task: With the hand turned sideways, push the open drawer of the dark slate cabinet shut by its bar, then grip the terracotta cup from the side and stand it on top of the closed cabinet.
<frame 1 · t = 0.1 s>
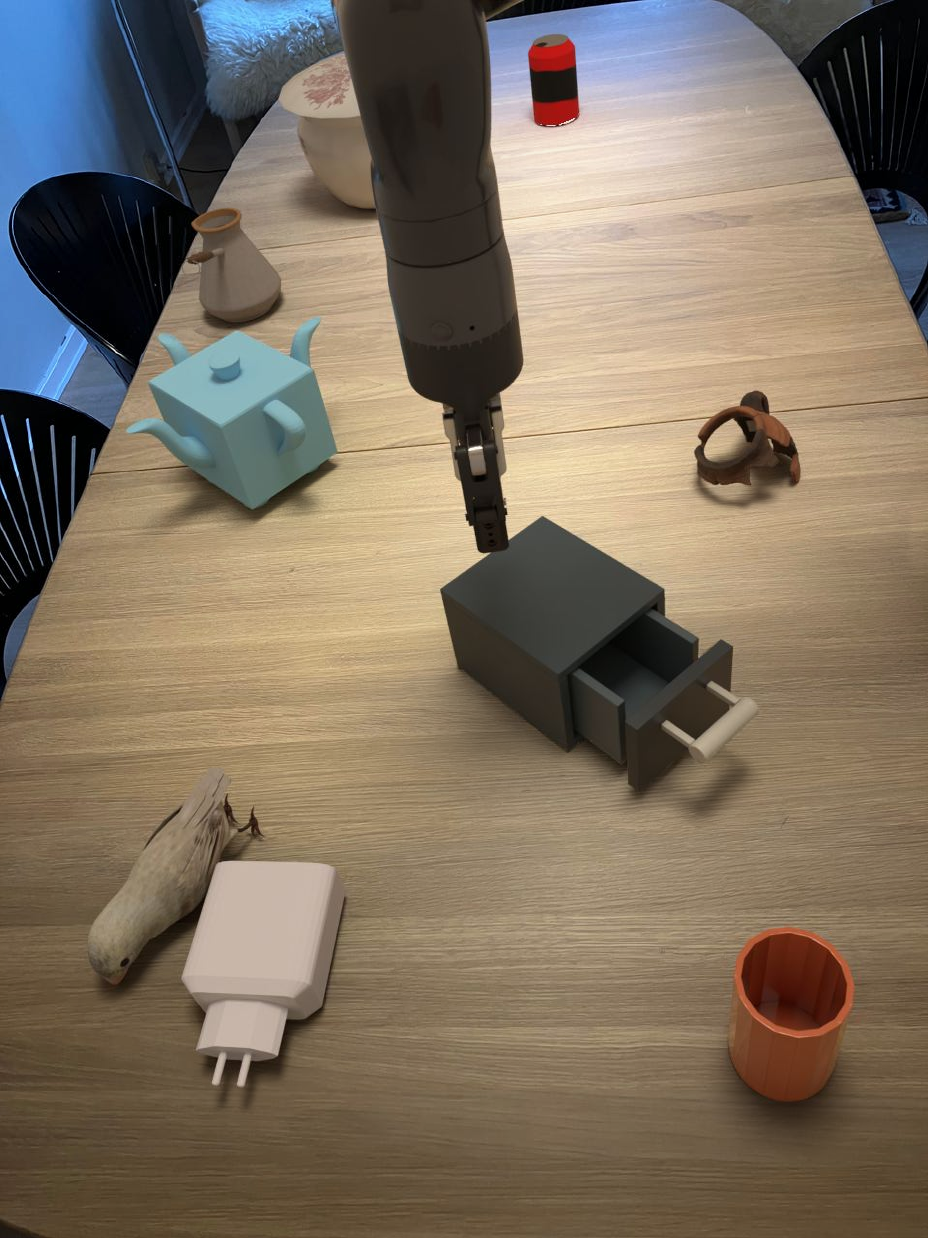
hand: (489, 509, 75), 20 cm above the table, tool pointing down, fingers open, 8 cm apart
decorative bird: (186, 900, 79), on the table
chamber pot: (393, 189, 163), on the table
charger: (267, 990, 73), on the table
teakettle: (258, 468, 117), on the table
drawer: (644, 692, 80), point 5 cm above the table, slide at 6.0 cm
soda can: (556, 119, 173), on the table
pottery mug: (748, 469, 104), on the table
coffee pot: (240, 327, 140), on the table
cabinet: (559, 668, 90), on the table
cup: (780, 1049, 65), on the table
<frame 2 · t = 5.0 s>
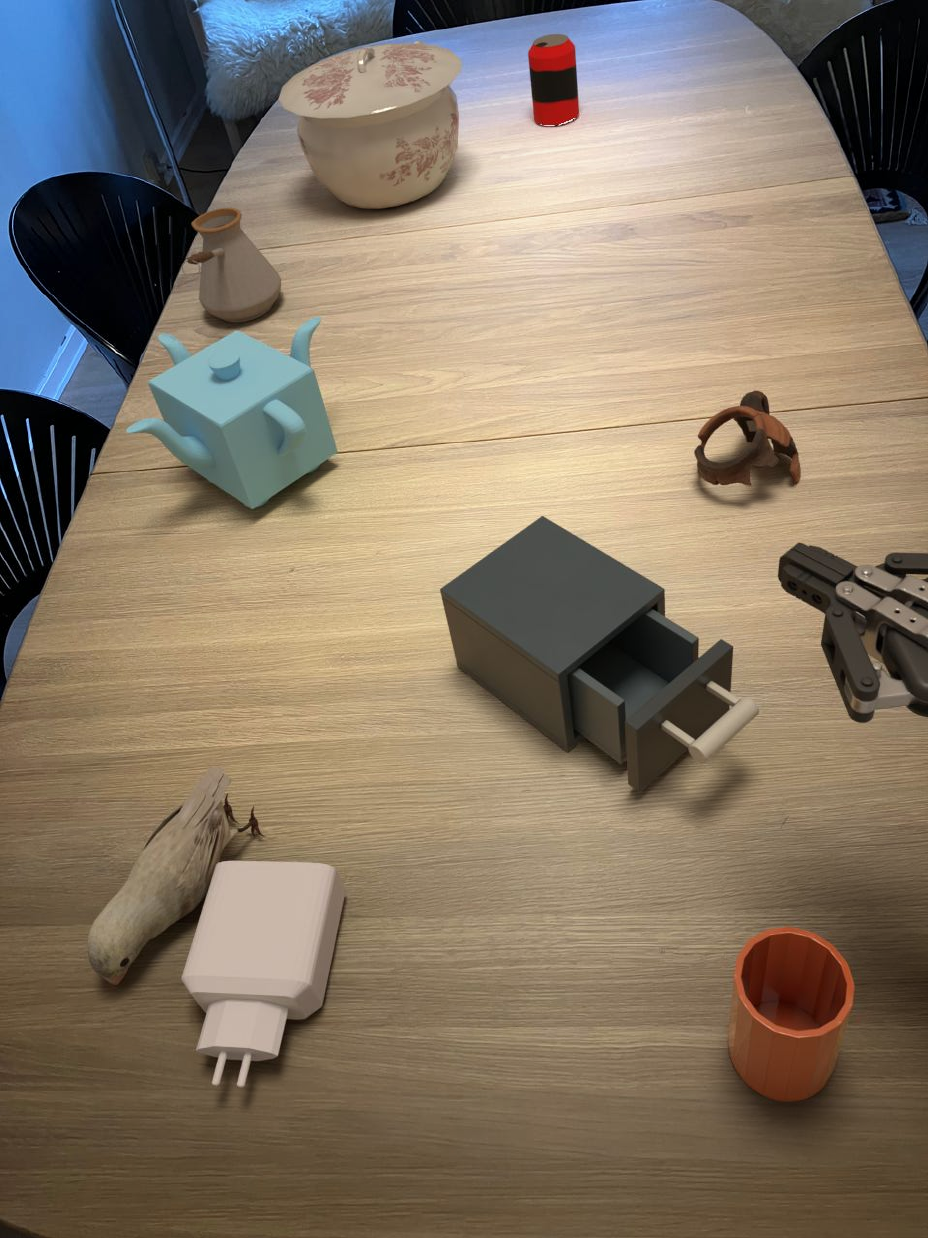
hand: (787, 560, 58), 26 cm above the table, tool horizontal, fingers closed
nothing on the table moved.
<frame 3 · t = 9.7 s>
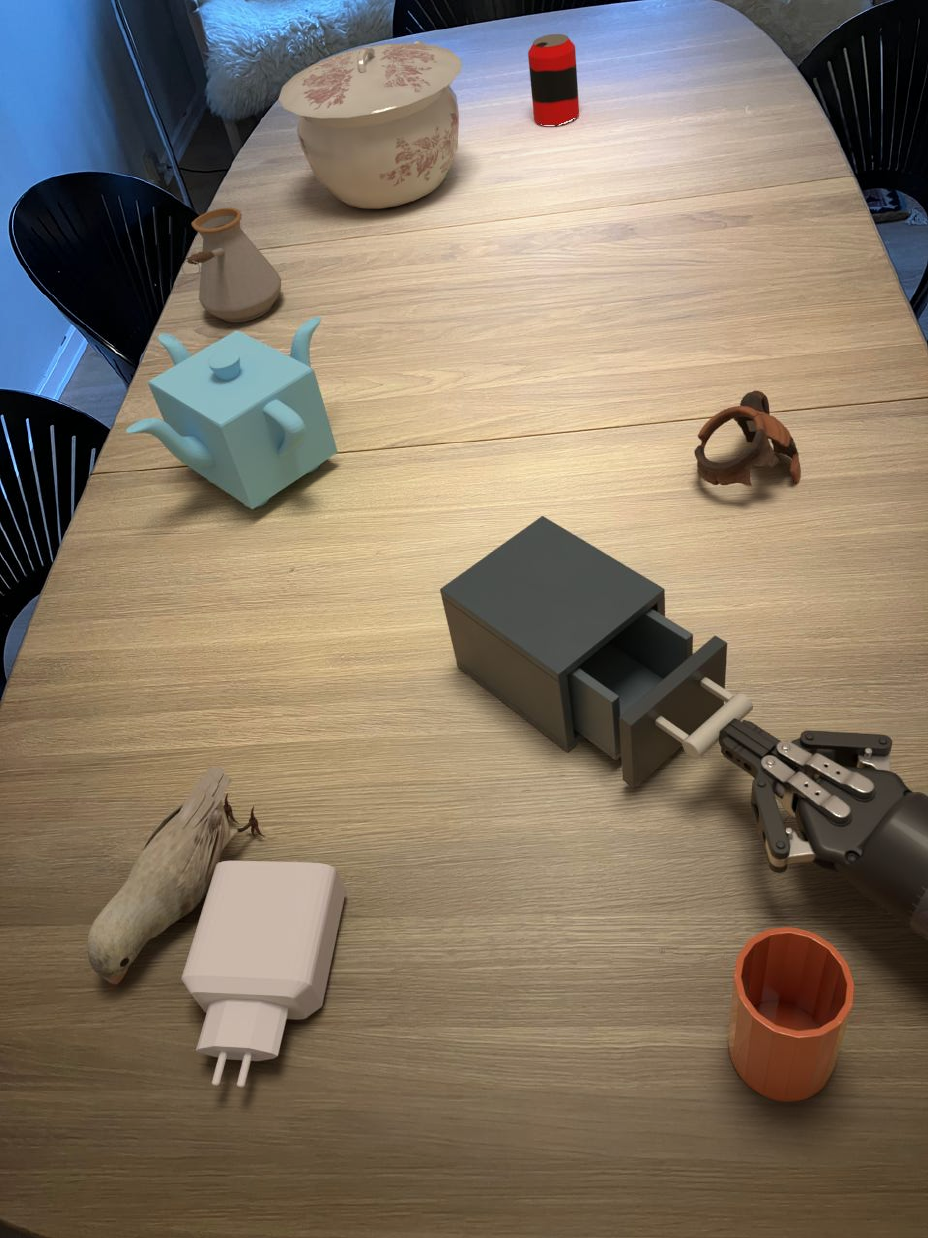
hand: (726, 731, 74), 7 cm above the table, tool horizontal, fingers closed
drawer: (639, 688, 81), point 5 cm above the table, slide at 5.4 cm, touching gripper
everything else where it was.
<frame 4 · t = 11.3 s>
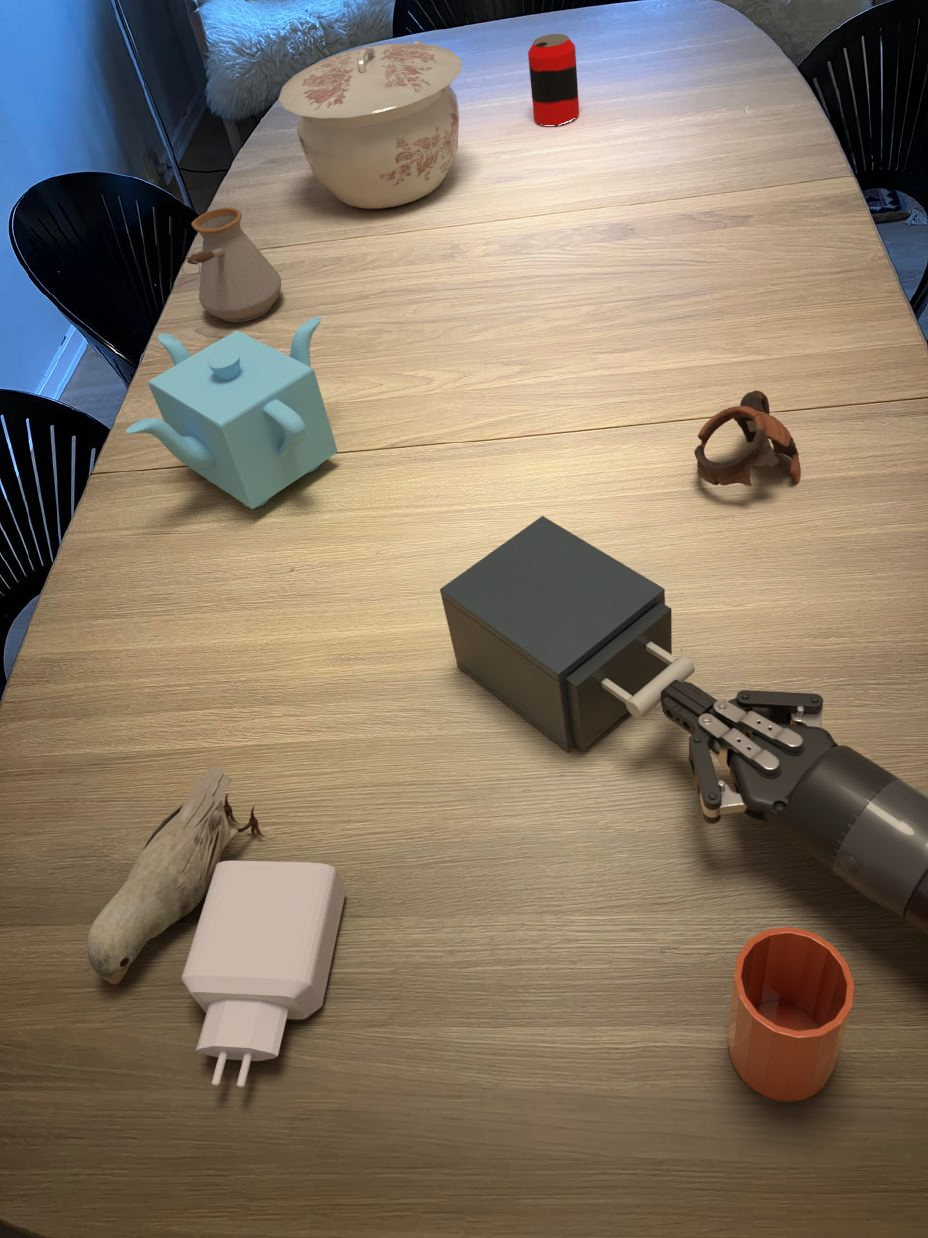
hand: (667, 692, 77), 7 cm above the table, tool horizontal, fingers closed
drawer: (588, 653, 84), point 5 cm above the table, slide at 0.0 cm, touching cabinet, gripper
everything else where it was.
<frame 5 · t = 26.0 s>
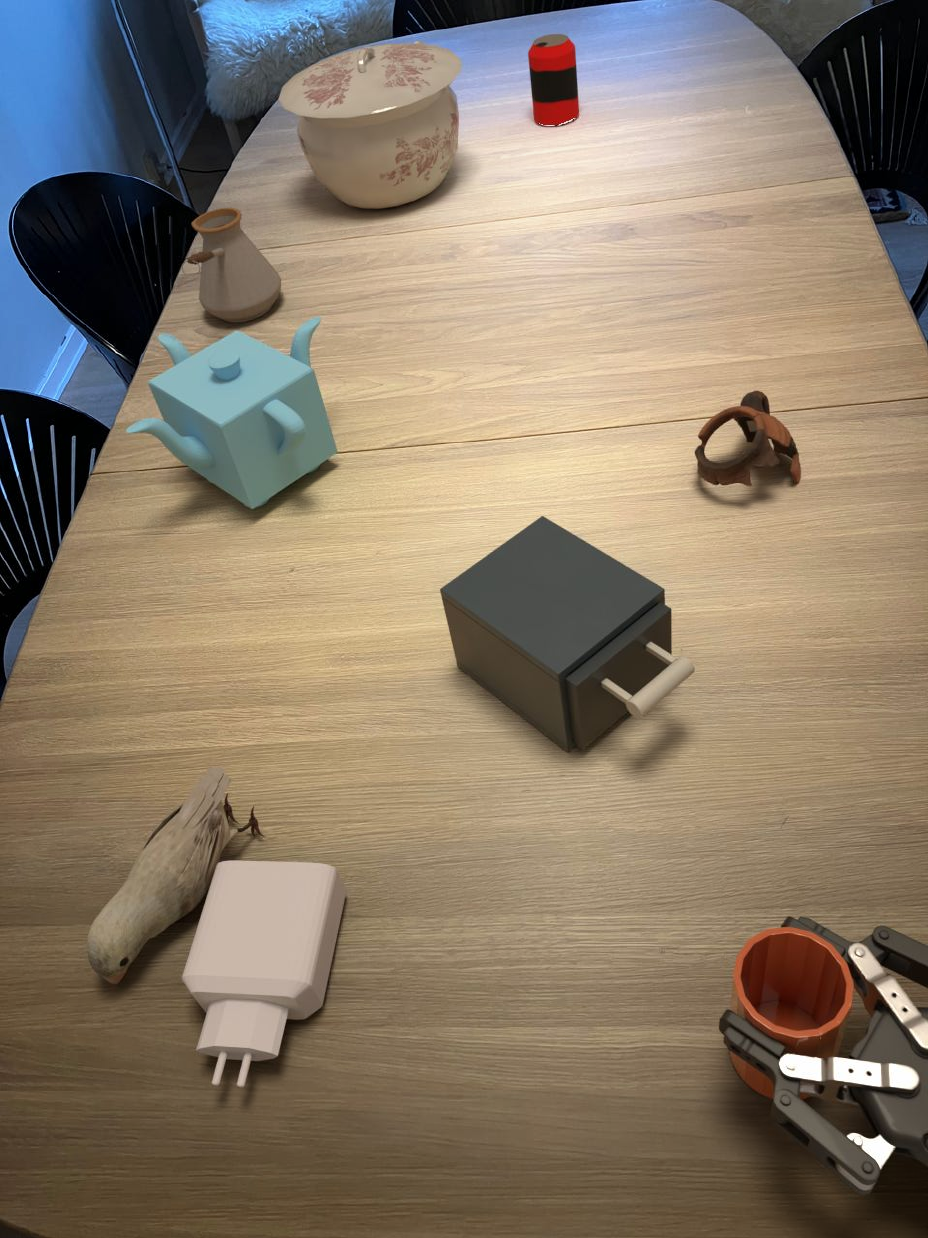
hand: (754, 972, 61), 8 cm above the table, tool horizontal, fingers closed on cup, 6 cm apart
drawer: (588, 653, 84), point 5 cm above the table, slide at 0.0 cm, touching cabinet
cup: (780, 1049, 65), on the table, touching gripper
everything else where it was.
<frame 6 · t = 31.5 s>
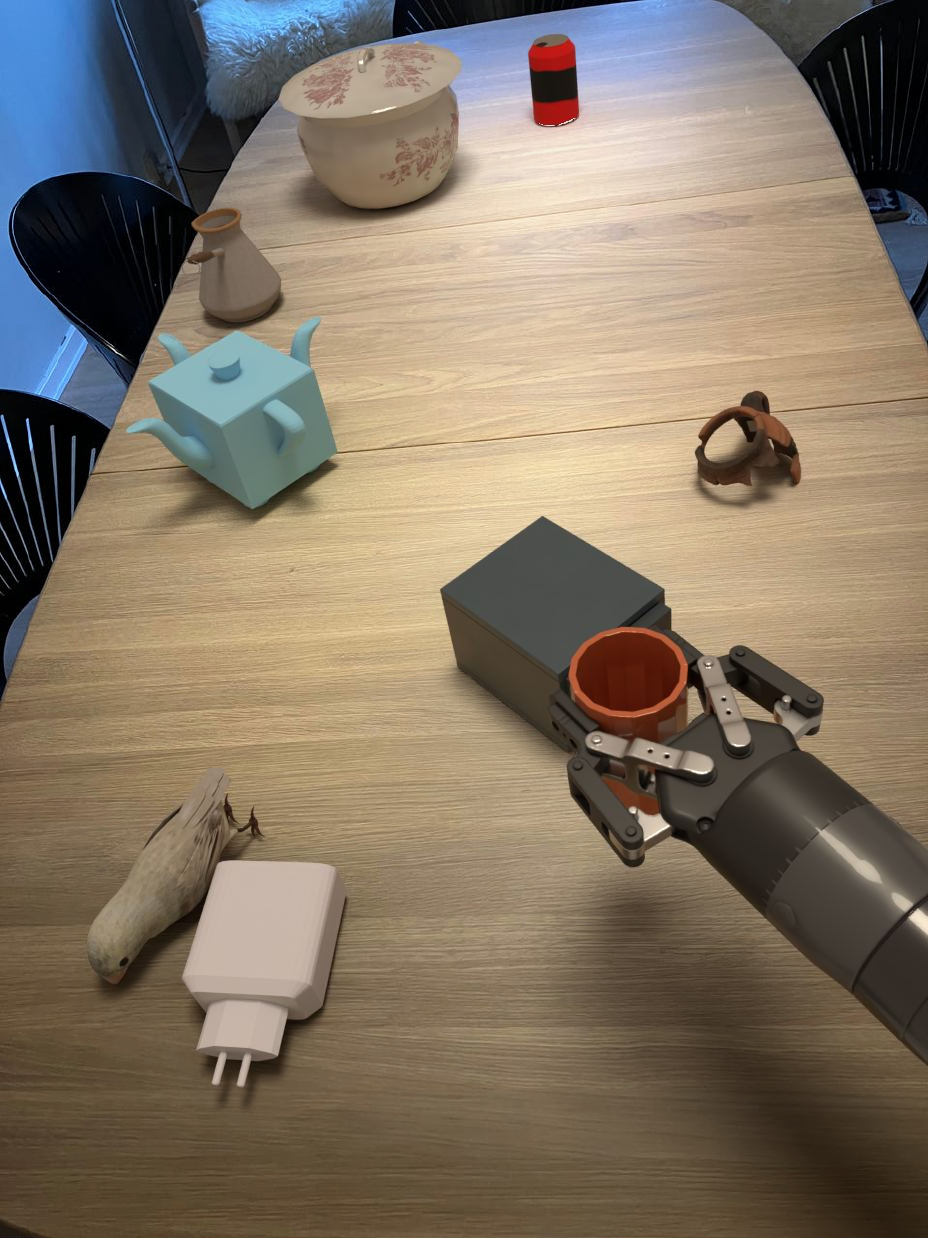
hand: (603, 669, 59), 22 cm above the table, tool horizontal, fingers closed on cup, 6 cm apart
cup: (634, 773, 64), point 14 cm above the table, touching gripper
everything else where it was.
when the fingers open (18 cm above the table, at t = 37.3 s): cup stays where it is, resting on cabinet.
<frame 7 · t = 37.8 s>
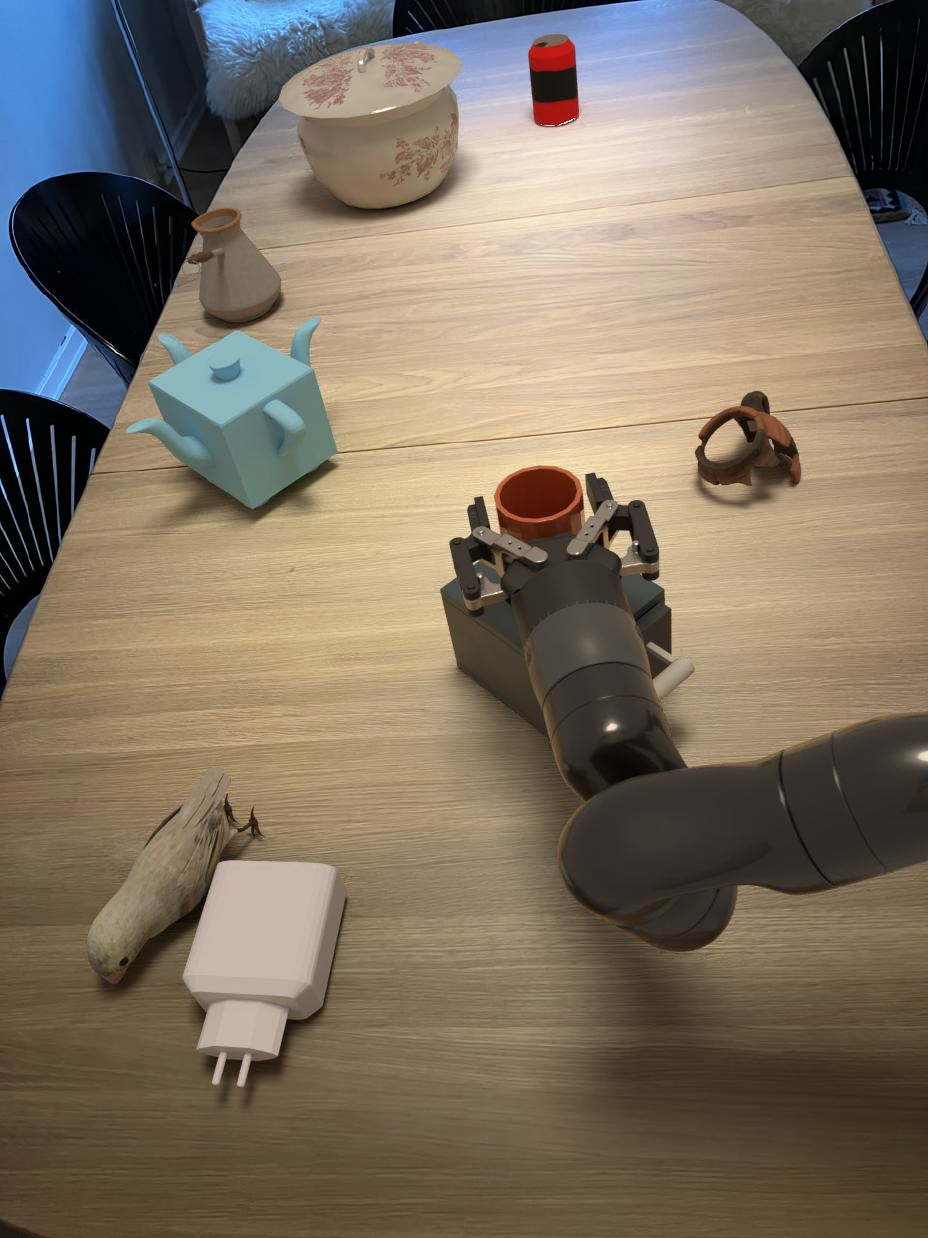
hand: (535, 493, 78), 18 cm above the table, tool horizontal, fingers open, 8 cm apart
cup: (549, 589, 83), point 10 cm above the table, touching cabinet
everything else where it was.
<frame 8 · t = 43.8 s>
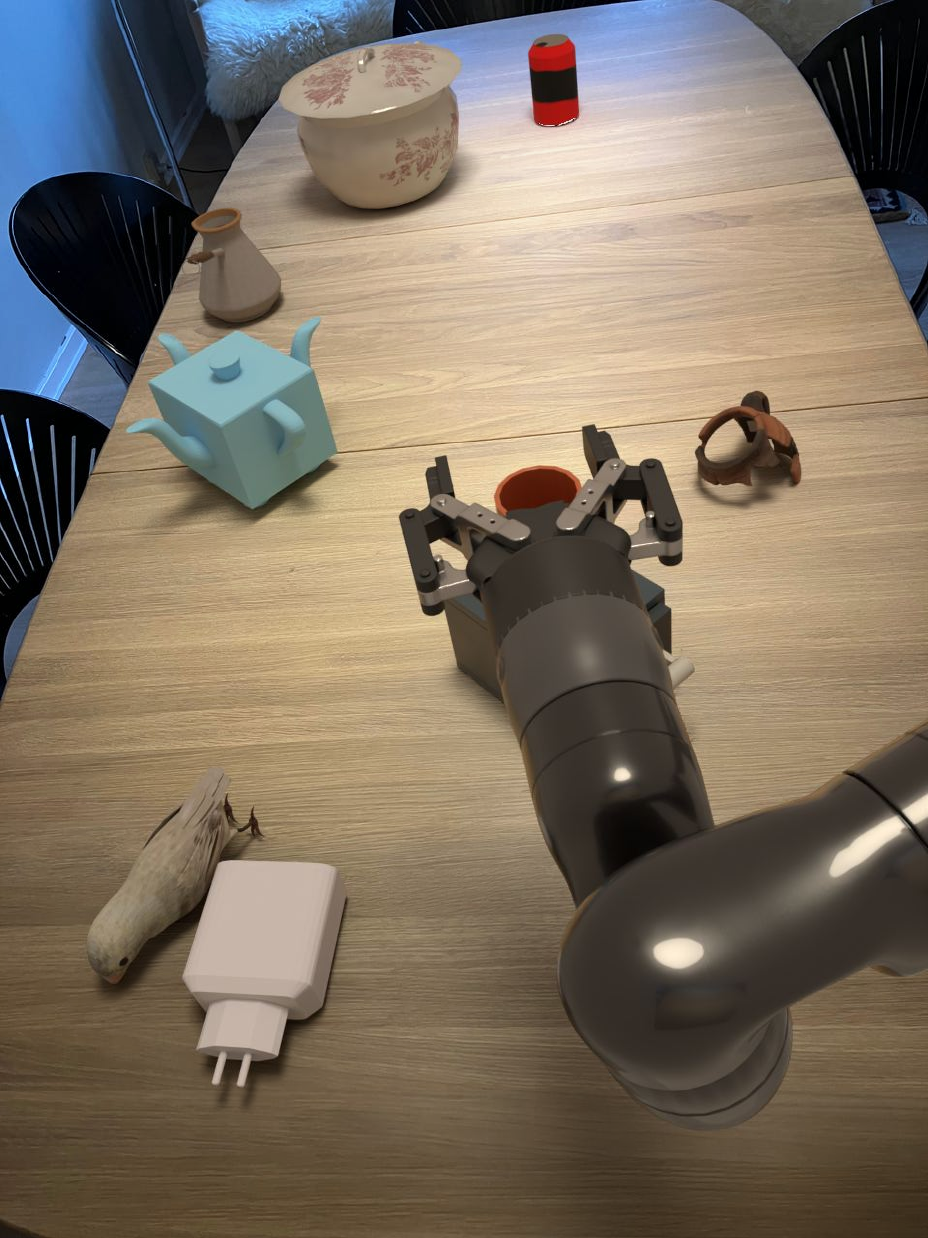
hand: (516, 452, 59), 32 cm above the table, tool horizontal, fingers open, 8 cm apart
nothing on the table moved.
at the end: drawer slide at 0.0 cm; cup inside the target area on the cabinet (0.1 cm from its centre), point 9.8 cm above the cabinet's base; cup tilted 0° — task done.
